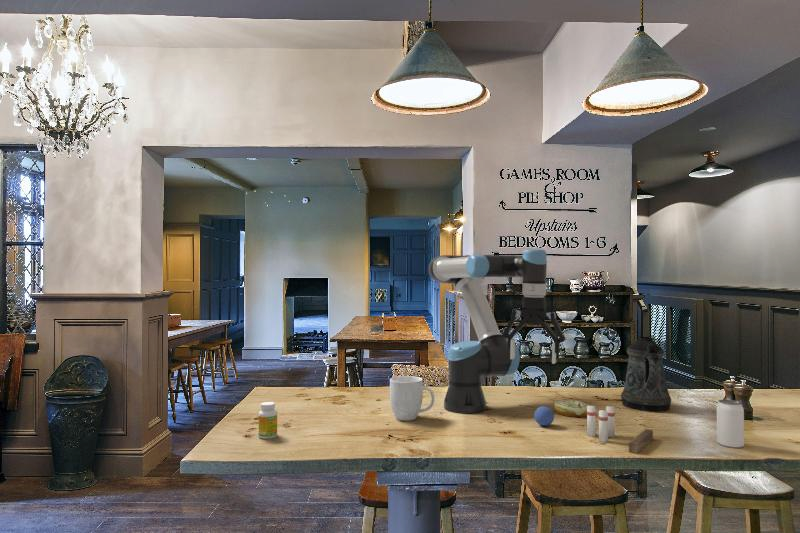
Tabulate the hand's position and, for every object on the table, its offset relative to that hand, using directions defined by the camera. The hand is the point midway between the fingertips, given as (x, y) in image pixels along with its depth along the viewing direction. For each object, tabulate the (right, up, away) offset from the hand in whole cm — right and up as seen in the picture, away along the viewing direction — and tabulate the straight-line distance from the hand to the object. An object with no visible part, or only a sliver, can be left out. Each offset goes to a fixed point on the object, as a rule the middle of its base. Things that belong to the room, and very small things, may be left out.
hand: (532, 360), depth 171 cm
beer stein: (+46, -20, +17) cm, 53 cm away
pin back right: (+15, -19, -21) cm, 32 cm away
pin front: (+13, -19, -16) cm, 28 cm away
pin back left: (+19, -19, -16) cm, 32 cm away
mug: (-41, -20, +2) cm, 45 cm away
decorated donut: (+16, -20, +8) cm, 27 cm away
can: (+50, -20, -24) cm, 59 cm away
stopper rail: (+24, -19, -25) cm, 40 cm away
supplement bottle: (-83, -20, -17) cm, 87 cm away
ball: (+2, -16, -6) cm, 18 cm away
